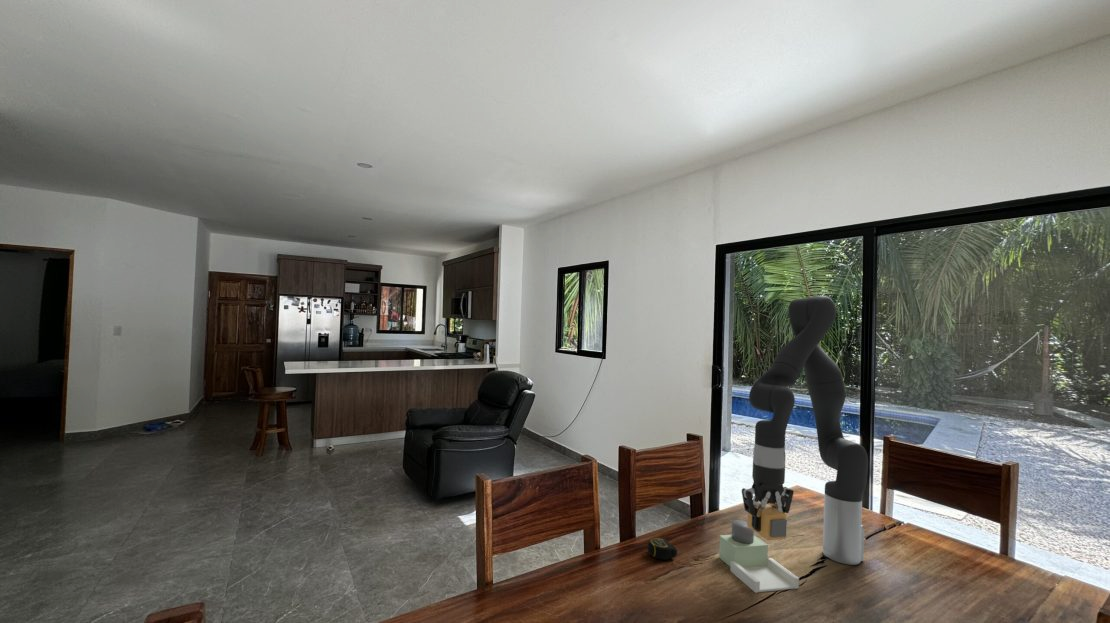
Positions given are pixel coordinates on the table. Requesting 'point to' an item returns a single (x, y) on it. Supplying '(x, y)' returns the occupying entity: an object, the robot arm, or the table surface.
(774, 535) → the tall mustard block
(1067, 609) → the table surface
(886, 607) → the table surface
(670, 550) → the tape measure
